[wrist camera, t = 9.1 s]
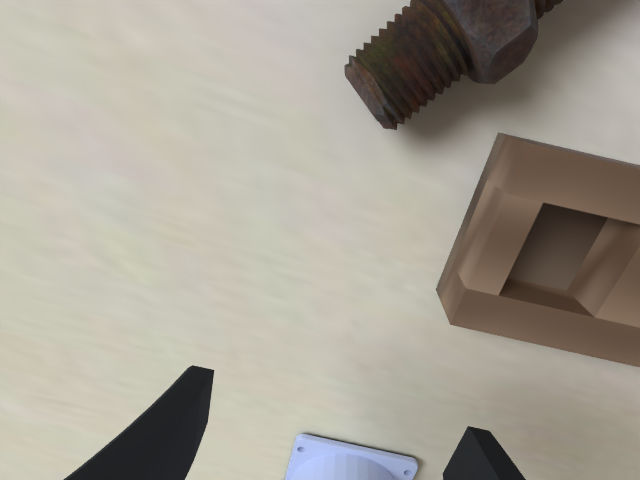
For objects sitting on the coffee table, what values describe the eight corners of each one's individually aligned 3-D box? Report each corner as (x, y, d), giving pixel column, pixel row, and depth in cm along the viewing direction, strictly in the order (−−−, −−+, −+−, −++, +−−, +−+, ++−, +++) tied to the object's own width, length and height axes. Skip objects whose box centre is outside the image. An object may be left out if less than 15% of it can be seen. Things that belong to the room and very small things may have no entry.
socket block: (697, 348, 19) (755, 393, 17) (435, 289, 19) (450, 324, 16) (811, 205, 16) (906, 231, 13) (498, 132, 16) (529, 143, 13)
